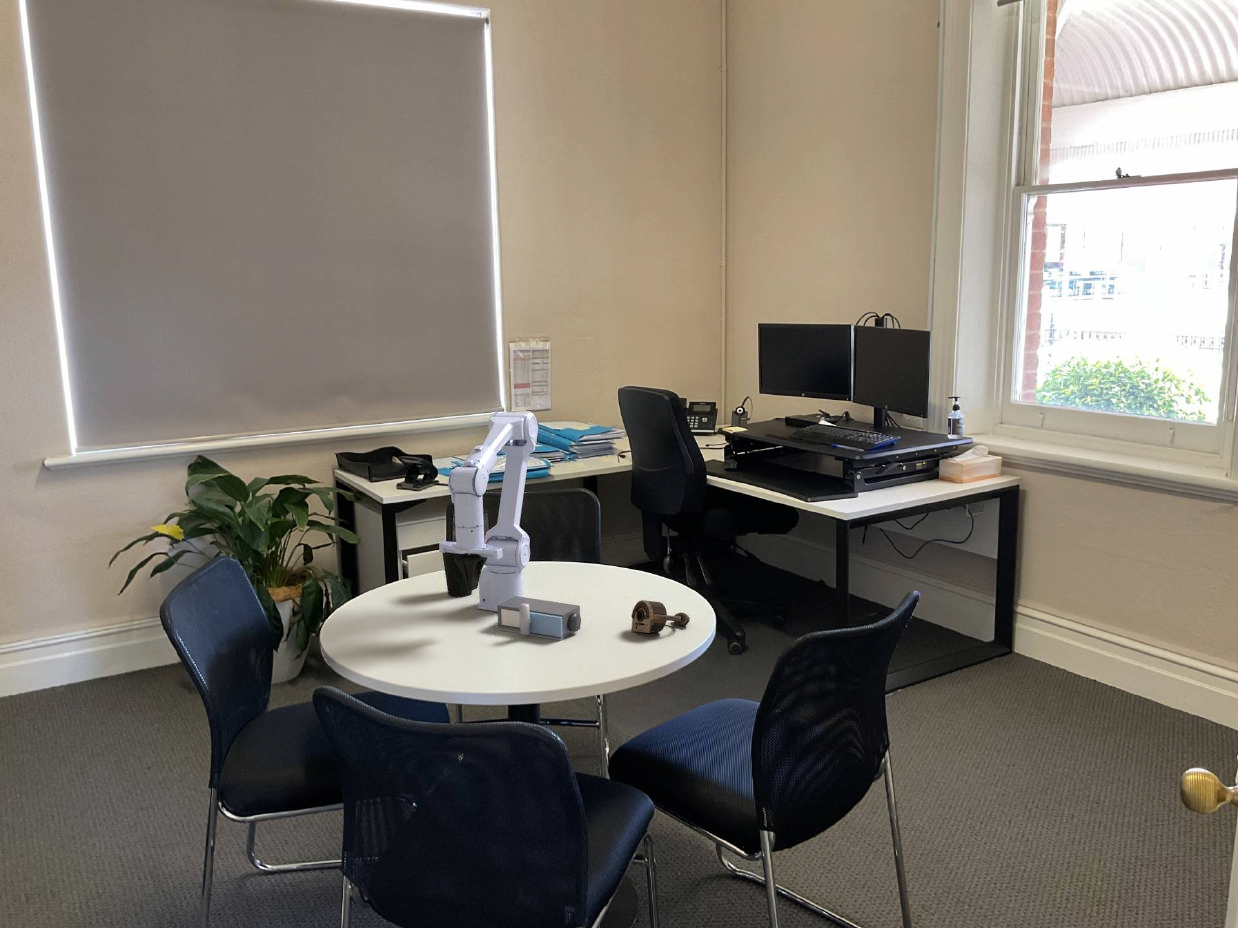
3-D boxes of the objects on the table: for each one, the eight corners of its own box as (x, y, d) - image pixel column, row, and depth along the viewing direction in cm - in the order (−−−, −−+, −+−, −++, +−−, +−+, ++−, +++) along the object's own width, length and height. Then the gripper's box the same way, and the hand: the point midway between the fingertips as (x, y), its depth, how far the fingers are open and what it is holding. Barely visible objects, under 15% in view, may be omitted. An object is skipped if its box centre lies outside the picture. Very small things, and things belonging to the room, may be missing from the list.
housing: (495, 629, 208) (494, 606, 207) (516, 618, 215) (515, 595, 214) (565, 641, 200) (565, 617, 199) (585, 629, 207) (584, 606, 206)
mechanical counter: (623, 600, 209) (632, 603, 199) (681, 589, 212) (693, 593, 202) (628, 633, 209) (638, 639, 199) (686, 623, 211) (698, 628, 202)
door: (518, 635, 202) (517, 605, 201) (527, 630, 205) (526, 601, 204) (554, 641, 198) (553, 611, 197) (562, 636, 201) (562, 606, 200)
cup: (483, 591, 234) (481, 542, 232) (461, 600, 228) (459, 550, 226) (458, 587, 238) (456, 538, 236) (436, 595, 232) (434, 545, 230)
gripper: (428, 525, 202) (432, 589, 204) (487, 532, 195) (490, 598, 198) (449, 518, 208) (452, 580, 211) (507, 525, 202) (509, 589, 204)
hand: (472, 588), depth 205 cm, fingers closed
